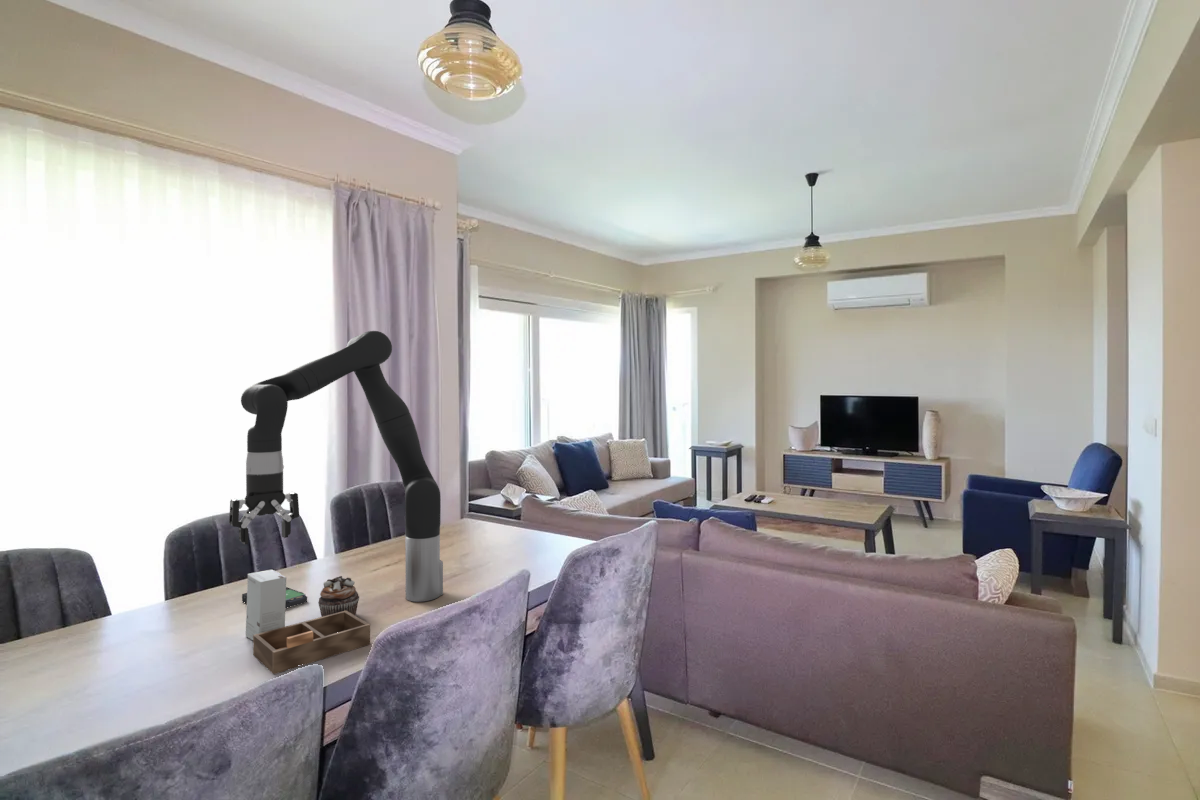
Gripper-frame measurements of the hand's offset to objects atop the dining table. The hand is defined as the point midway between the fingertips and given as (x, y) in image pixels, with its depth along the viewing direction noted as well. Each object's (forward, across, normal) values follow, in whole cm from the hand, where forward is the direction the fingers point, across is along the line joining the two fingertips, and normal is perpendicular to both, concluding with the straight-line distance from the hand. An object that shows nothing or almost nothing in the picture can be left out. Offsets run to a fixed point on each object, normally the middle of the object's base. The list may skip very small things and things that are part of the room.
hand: (265, 540), depth 142 cm
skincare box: (+23, 0, 0) cm, 23 cm away
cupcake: (+23, -17, 0) cm, 29 cm away
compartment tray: (+23, -5, +14) cm, 27 cm away
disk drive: (+24, -10, -24) cm, 35 cm away
